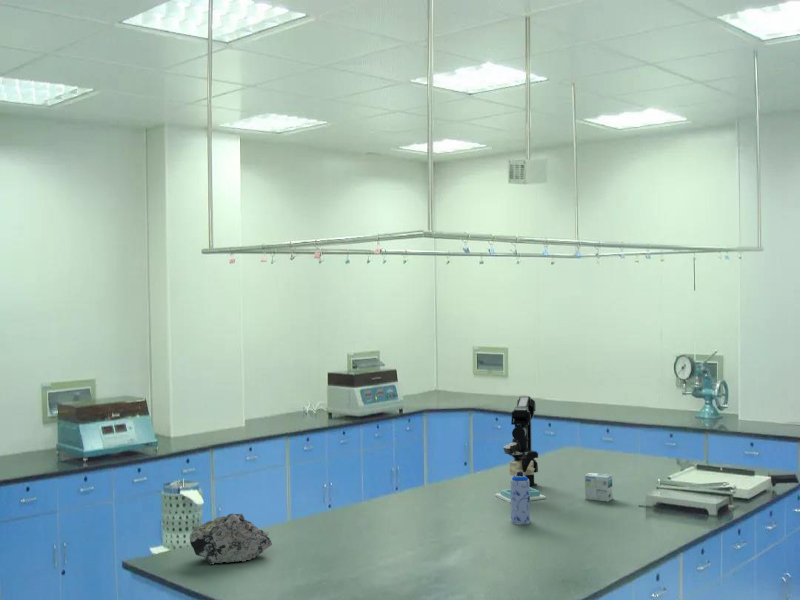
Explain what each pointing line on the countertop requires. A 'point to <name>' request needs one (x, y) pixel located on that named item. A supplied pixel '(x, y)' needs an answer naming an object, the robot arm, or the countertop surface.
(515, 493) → the aerosol can
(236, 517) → the mineral sample
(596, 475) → the light bulb box
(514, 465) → the key block
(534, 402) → the robot arm
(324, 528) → the countertop surface
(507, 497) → the keyed cradle
